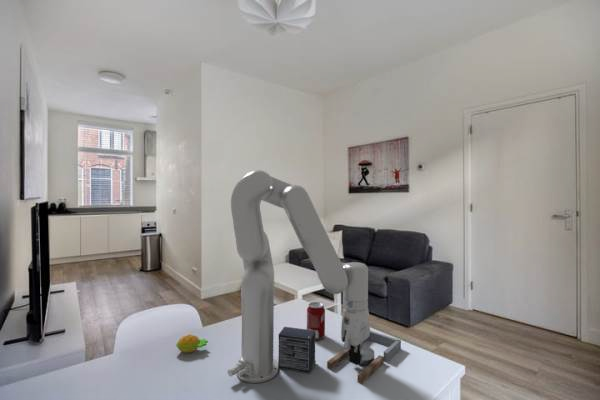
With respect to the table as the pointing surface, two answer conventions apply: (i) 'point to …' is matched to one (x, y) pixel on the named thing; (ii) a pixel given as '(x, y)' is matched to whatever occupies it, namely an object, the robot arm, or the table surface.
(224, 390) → the table surface
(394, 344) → the grey u-shaped frame
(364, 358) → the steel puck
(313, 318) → the soda can
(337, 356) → the walnut slot
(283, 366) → the small box
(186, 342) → the toy pineapple
